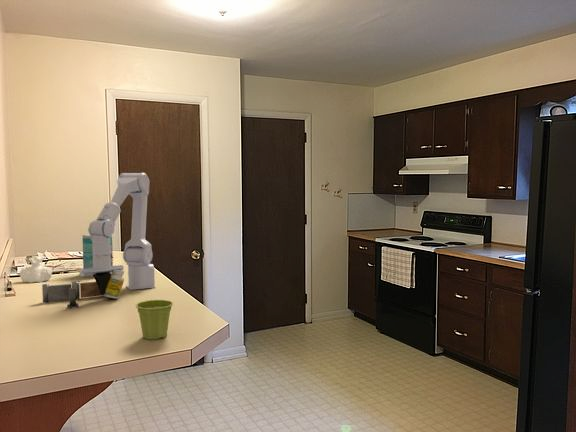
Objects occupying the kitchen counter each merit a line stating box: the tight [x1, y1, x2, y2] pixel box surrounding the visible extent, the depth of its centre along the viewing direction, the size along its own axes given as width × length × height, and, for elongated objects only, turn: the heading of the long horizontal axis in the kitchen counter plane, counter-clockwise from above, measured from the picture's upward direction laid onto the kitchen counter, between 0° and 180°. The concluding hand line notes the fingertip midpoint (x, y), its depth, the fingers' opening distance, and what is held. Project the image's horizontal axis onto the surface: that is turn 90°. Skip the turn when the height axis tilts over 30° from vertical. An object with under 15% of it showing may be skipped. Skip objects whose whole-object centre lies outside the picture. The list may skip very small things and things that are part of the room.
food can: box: [82, 233, 114, 279], centre depth 209 cm, size 12×12×18 cm
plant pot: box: [135, 299, 174, 340], centre depth 125 cm, size 9×9×9 cm
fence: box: [41, 280, 81, 304], centre depth 164 cm, size 12×2×6 cm, turn 119°
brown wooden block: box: [79, 280, 105, 299], centre depth 169 cm, size 12×2×6 cm, turn 119°
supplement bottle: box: [103, 269, 125, 300], centre depth 166 cm, size 5×5×10 cm
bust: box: [19, 255, 53, 284], centre depth 197 cm, size 12×8×11 cm
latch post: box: [66, 288, 80, 310], centre depth 155 cm, size 3×3×6 cm
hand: (102, 294), depth 164 cm, fingers closed
